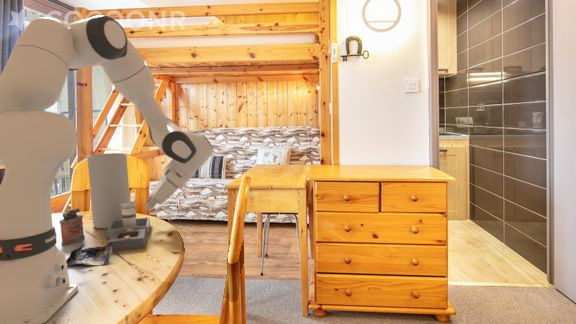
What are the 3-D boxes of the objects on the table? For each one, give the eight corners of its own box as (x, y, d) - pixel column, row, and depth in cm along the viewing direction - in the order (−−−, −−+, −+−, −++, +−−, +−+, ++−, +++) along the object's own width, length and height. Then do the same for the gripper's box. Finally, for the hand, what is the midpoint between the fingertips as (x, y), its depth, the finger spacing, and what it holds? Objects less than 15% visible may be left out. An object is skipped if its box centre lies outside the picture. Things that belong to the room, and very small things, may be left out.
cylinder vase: (136, 224, 138) (131, 154, 135) (99, 231, 130) (93, 157, 127) (124, 218, 147) (119, 152, 145) (88, 224, 139) (82, 155, 136)
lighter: (68, 245, 116) (65, 213, 115) (58, 245, 116) (55, 212, 115) (87, 237, 124) (84, 206, 122) (78, 237, 124) (75, 206, 123)
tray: (148, 235, 124) (147, 226, 124) (107, 239, 121) (106, 230, 121) (150, 225, 136) (149, 217, 135) (113, 229, 132) (112, 220, 132)
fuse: (136, 231, 127) (134, 203, 126) (121, 233, 125) (119, 204, 124) (138, 228, 131) (136, 200, 130) (123, 229, 130) (121, 201, 129)
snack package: (73, 277, 93) (120, 261, 102) (68, 251, 93) (115, 237, 102) (55, 273, 101) (99, 259, 110) (50, 249, 101) (95, 236, 110)
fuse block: (144, 248, 112) (143, 236, 111) (110, 251, 109) (109, 239, 109) (146, 238, 121) (145, 226, 121) (115, 241, 119) (114, 230, 118)
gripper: (168, 165, 140) (141, 194, 138) (168, 173, 121) (137, 207, 119) (181, 176, 142) (155, 205, 140) (184, 186, 123) (153, 219, 121)
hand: (147, 206), depth 130 cm, fingers open, 8 cm apart
